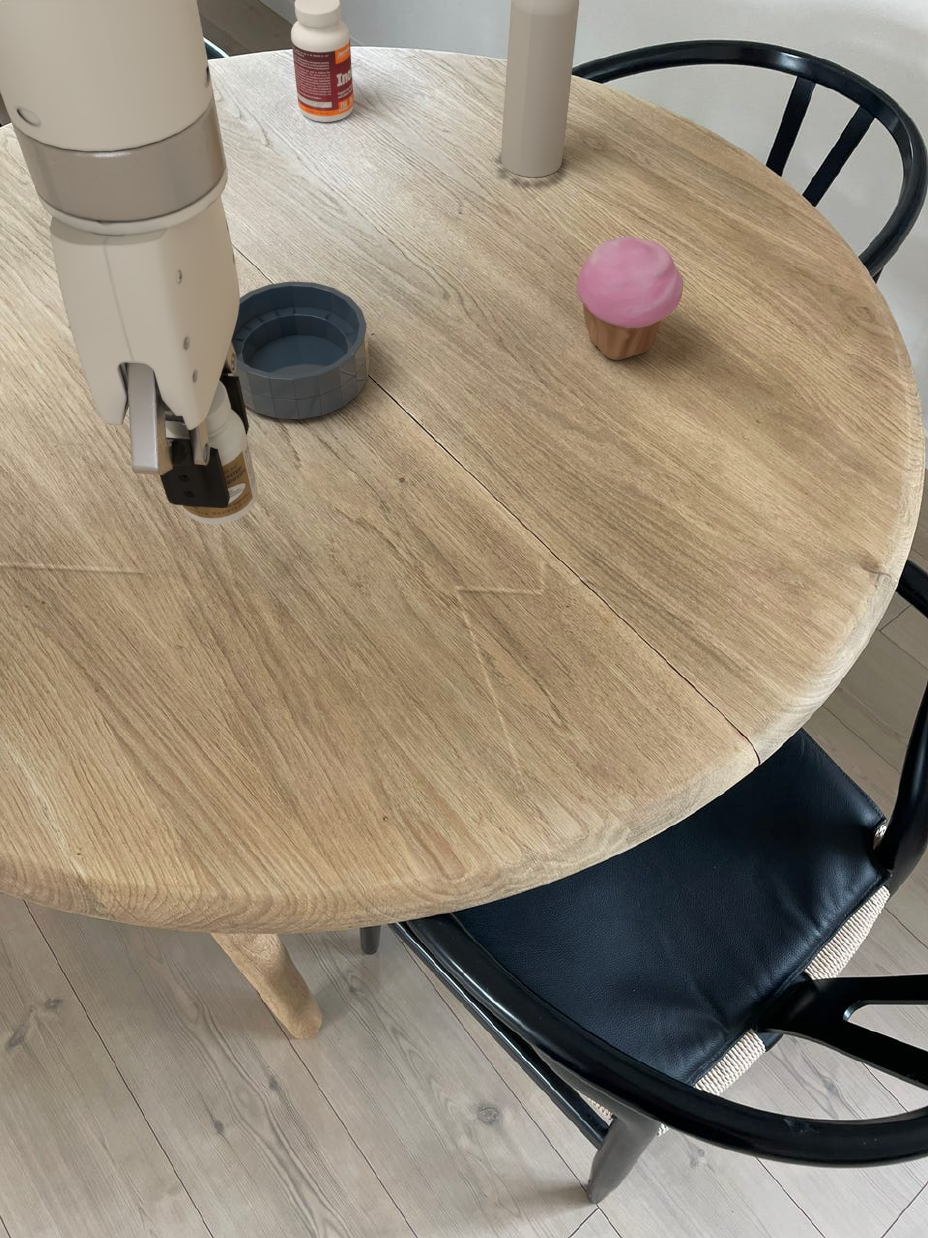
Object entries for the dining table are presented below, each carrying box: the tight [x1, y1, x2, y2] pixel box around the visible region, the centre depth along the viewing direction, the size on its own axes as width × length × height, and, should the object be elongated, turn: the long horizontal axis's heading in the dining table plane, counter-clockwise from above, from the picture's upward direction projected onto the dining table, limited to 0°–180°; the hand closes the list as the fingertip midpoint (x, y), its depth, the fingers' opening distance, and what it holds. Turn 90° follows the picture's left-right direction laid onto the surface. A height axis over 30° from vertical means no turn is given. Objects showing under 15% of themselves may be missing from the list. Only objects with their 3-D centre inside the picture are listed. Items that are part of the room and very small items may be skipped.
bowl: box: [228, 280, 370, 420], centre depth 83 cm, size 12×12×5 cm
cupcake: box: [576, 236, 684, 361], centre depth 84 cm, size 9×9×10 cm
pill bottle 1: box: [166, 381, 258, 525], centre depth 52 cm, size 4×4×8 cm
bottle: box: [500, 0, 580, 178], centre depth 93 cm, size 7×7×28 cm
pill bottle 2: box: [290, 0, 355, 123], centre depth 104 cm, size 6×6×11 cm
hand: (210, 463), depth 53 cm, fingers closed on pill bottle 1, 4 cm apart
